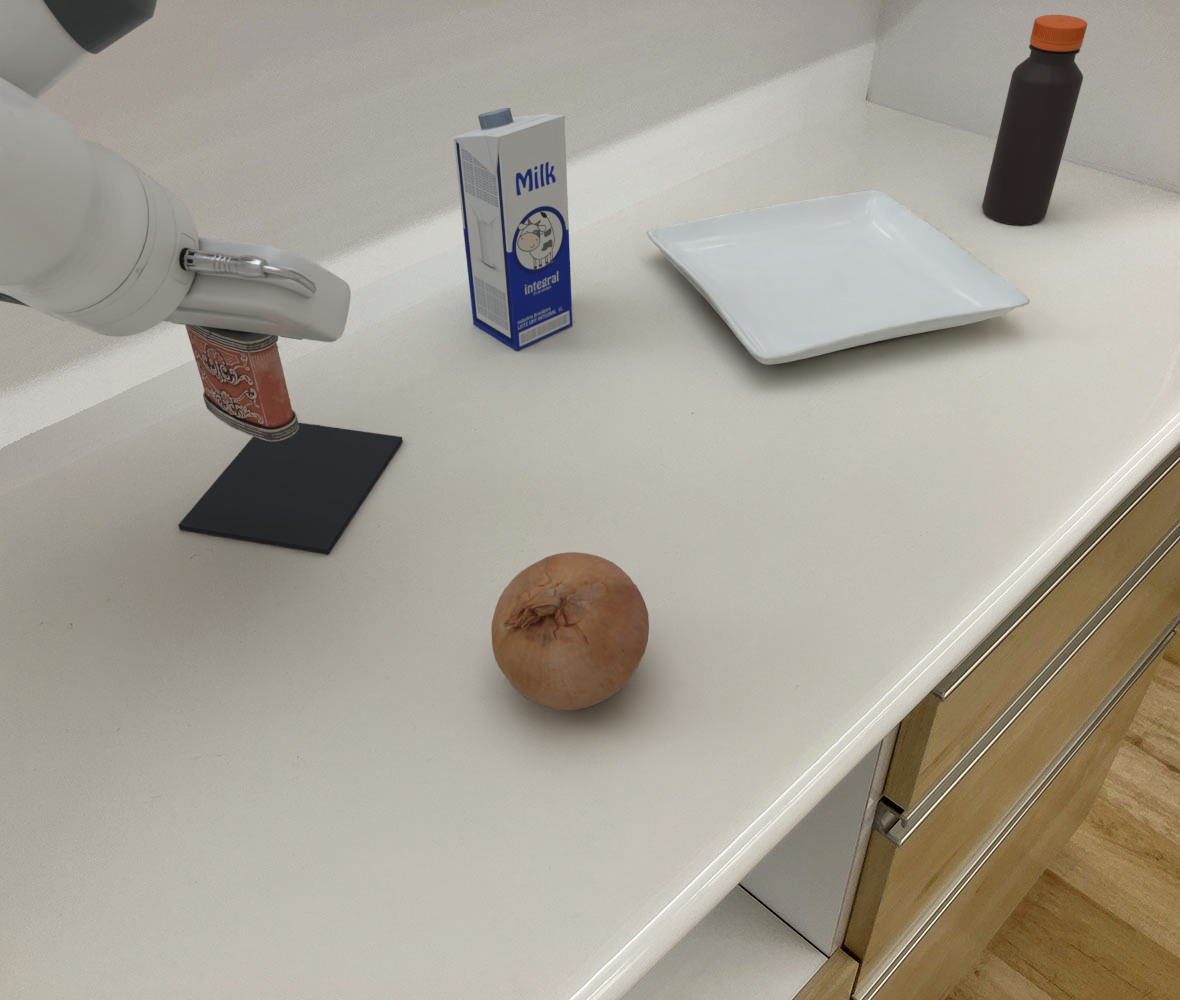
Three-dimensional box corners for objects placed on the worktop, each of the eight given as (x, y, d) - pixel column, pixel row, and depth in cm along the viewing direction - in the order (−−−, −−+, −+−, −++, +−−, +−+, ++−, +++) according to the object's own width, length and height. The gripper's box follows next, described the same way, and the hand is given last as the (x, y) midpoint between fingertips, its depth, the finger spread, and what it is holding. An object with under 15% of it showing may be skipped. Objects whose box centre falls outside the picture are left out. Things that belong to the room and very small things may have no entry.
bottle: (993, 195, 119) (1037, 8, 107) (1053, 209, 116) (1106, 18, 104) (972, 216, 115) (1015, 24, 103) (1034, 231, 112) (1086, 35, 99)
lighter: (310, 424, 70) (280, 288, 63) (270, 448, 68) (235, 311, 61) (234, 385, 74) (198, 253, 67) (194, 407, 71) (153, 273, 65)
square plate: (872, 217, 116) (877, 183, 113) (1026, 336, 96) (1037, 298, 93) (643, 257, 110) (643, 222, 107) (756, 393, 89) (759, 354, 87)
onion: (553, 754, 65) (498, 711, 56) (500, 628, 69) (442, 570, 61) (689, 683, 64) (655, 628, 56) (627, 561, 69) (587, 494, 61)
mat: (179, 530, 77) (177, 525, 77) (269, 422, 88) (268, 418, 87) (328, 554, 75) (327, 549, 74) (403, 441, 85) (402, 436, 85)
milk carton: (515, 352, 95) (498, 134, 83) (471, 325, 99) (448, 113, 87) (574, 325, 99) (566, 112, 86) (529, 300, 103) (516, 92, 90)
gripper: (297, 208, 53) (397, 290, 67) (-42, 174, 58) (117, 258, 71) (274, 328, 53) (379, 386, 66) (-66, 285, 57) (98, 348, 71)
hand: (241, 319), depth 69 cm, fingers closed on lighter, 6 cm apart
